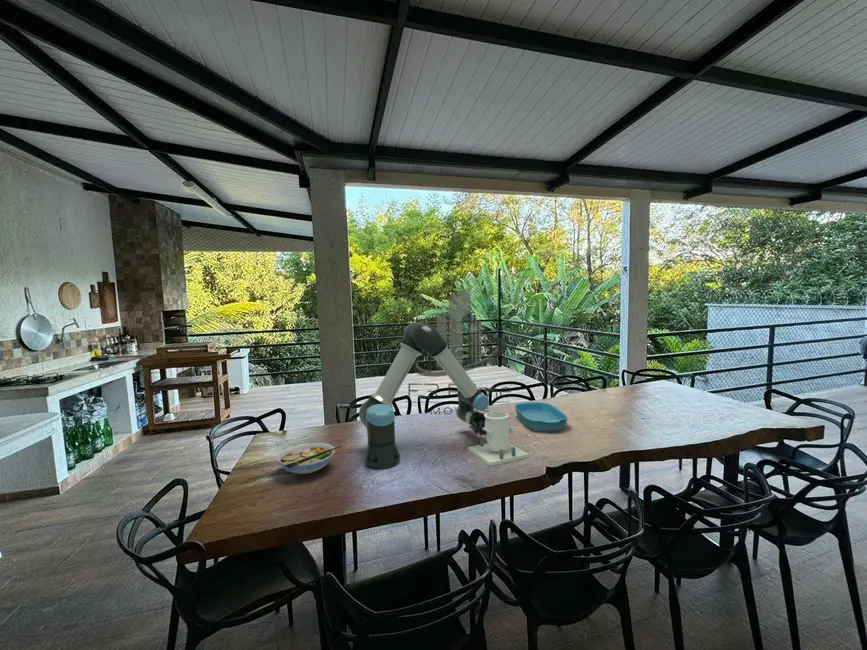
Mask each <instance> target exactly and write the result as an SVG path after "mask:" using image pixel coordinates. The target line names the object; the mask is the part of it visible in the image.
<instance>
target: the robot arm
mask: <svg viewBox="0 0 867 650" xmlns="http://www.w3.org/2000/svg"><path fill="white" fill-rule="evenodd" d="M402 335H403V337H402V339H401V341H400V344H399V345H400V349H399V351H398V352H397V355H396V356H395V358H394V360H393V362H391V365H390V367H389V369H388V370H387V372H386V374H385V376H384V377H383V379H382V381H381V383H380V384H379V386H378V388H377V390H376V391H375V392H374V393H371V394H369V395H370V396H368V397H369V398H368V399H367V400H366V401H364V402H362V404H361V406H360V407H359V410H358V411H359V413H358V414H359V415H358V417H359V420H360V422H361V423H362V424H363V426H364V427H365V428H366V431H367V432H366V433H367V434H366V435H367V446H366V447H367V448H366V451H365V454H364V459H363V461H364V465H365V466H366V467H367V468H370V469H373V470H374V469H375V470H381V469H382V470H384V469H389V468H392V467H396V466H397V465H398V464H399V463H400V462H401V455H400V451H399V449H398V446H397V442H396V427H395V426H396V424H395V422H396V421H395V417H396V415H395V410H394V408H393V407H394V405H393V400H394V399H395V397H396V395H397V394H398V392H399V389H400V388H401V387H402V384H403V383H404V381H405V379H406V378H407V375H408V373H410V370H411V368H412V366H413V364H414V363H415V362H416V359H417V358H418V357H420V356H422V355H423V353H424V351H425V352H426V353H427V355H428V356H429V357H430V358H433V359H434V360H435V361H436V363H437V364H438V365H439V366H440V367H441V369H442V370H443V371H444V373H445V375H447V377H448V378H449V380H451V381H452V383H453V385H455V387H456V389H457V401H458V406H457V407H456V411H455V414H456V416H457V418H458V419H459V420H461V421H462V422H465V423H466V424H468V425H469V429H471V430H472V432H474V434H475V435H478V434H479V436H480V437H481V436H485V437H486V436H487V437H488V438H490V439H492V432H491V431H489V430H487V429H485V420H486V418H485V417H484V414H485V413H482V412H480V411H485V410H486V409H487V408H488V407H489V403H490V400H489V397H488V396H487V395H486V394H485V393H482V391H481V390H480V388H479V387H478V386H477V385H476V384H475V382H474V381H473V379H471V378H470V376H469V375H468V373H467V372H466V370H465V369H464V368H463V366H462V365H461V364H460V362H459V361H458V360H457V359H456V357H455V356H454V354H453V353H452V351H451V350H450V349H449V347H448V346H449V345H448V343H447V341H446V340H445V338H444V337H443V336H442V334H441V333H440V332H439V330H438V329H437V328H436V327H435V326H433V325H432V324H430V323H426V322H425V323H424V322H416V321H415V322H413V323H410V324H408V325H407V326H406V327H405V328H404V330H403V334H402ZM509 435H514V427H512V426H510V425H509Z"/></svg>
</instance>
